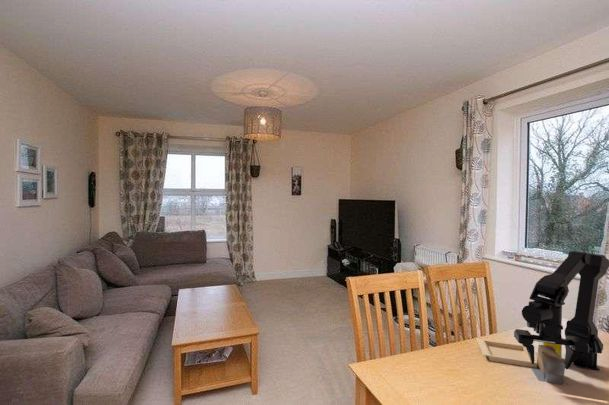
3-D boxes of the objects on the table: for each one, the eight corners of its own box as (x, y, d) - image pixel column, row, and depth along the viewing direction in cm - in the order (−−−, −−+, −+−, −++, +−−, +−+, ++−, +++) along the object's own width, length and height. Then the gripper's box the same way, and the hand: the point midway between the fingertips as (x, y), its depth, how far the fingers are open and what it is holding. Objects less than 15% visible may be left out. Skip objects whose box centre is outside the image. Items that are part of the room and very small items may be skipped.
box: (550, 364, 106) (553, 346, 104) (562, 385, 97) (565, 365, 96) (536, 362, 107) (538, 344, 105) (546, 382, 99) (549, 363, 97)
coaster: (558, 373, 104) (558, 371, 104) (569, 387, 97) (569, 385, 97) (530, 369, 107) (530, 367, 107) (538, 382, 100) (539, 380, 100)
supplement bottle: (566, 364, 110) (567, 328, 110) (547, 364, 110) (548, 328, 110) (551, 354, 117) (552, 320, 116) (533, 354, 117) (534, 320, 117)
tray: (530, 352, 119) (530, 346, 119) (543, 370, 106) (544, 363, 106) (476, 344, 125) (476, 338, 125) (483, 361, 112) (483, 354, 112)
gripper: (573, 313, 106) (572, 358, 106) (509, 307, 112) (508, 349, 113) (591, 326, 95) (589, 376, 96) (519, 318, 102) (518, 365, 102)
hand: (549, 366), depth 102 cm, fingers open, 9 cm apart
